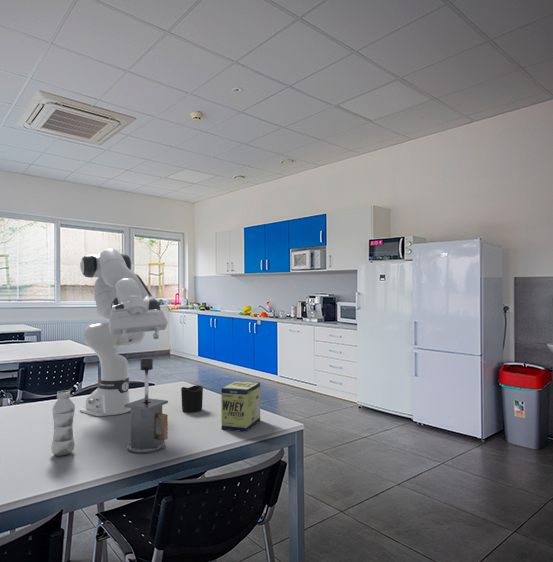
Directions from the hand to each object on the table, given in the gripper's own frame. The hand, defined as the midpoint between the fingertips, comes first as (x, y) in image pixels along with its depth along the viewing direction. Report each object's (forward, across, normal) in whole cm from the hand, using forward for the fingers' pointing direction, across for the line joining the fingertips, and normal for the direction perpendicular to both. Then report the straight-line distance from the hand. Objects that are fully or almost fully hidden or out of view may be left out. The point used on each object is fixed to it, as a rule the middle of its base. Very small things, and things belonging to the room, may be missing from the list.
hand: (143, 339), depth 151 cm
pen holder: (+6, -27, -46) cm, 54 cm away
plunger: (+22, +2, -13) cm, 25 cm away
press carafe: (+29, +2, -21) cm, 36 cm away
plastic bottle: (+23, +27, -26) cm, 44 cm away
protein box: (+28, -36, -25) cm, 52 cm away
